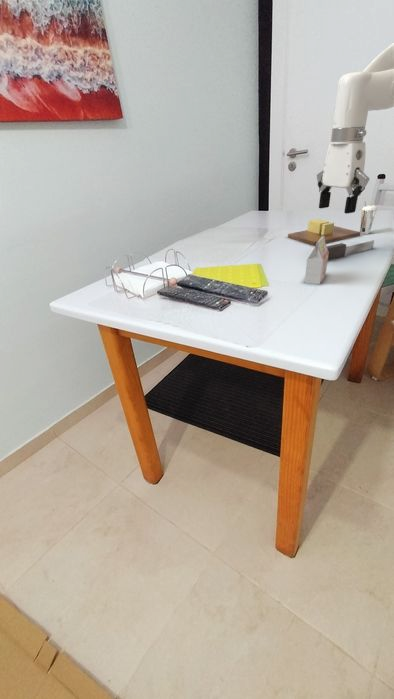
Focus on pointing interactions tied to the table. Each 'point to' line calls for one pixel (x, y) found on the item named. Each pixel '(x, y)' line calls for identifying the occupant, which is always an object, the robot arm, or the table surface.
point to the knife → (347, 249)
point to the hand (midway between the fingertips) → (336, 210)
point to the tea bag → (317, 263)
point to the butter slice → (327, 228)
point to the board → (314, 237)
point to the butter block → (316, 225)
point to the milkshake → (367, 218)
